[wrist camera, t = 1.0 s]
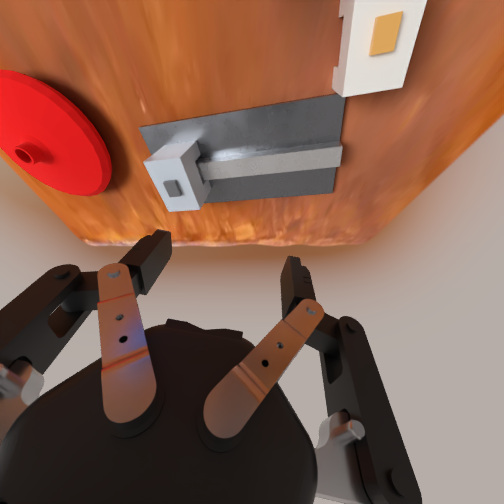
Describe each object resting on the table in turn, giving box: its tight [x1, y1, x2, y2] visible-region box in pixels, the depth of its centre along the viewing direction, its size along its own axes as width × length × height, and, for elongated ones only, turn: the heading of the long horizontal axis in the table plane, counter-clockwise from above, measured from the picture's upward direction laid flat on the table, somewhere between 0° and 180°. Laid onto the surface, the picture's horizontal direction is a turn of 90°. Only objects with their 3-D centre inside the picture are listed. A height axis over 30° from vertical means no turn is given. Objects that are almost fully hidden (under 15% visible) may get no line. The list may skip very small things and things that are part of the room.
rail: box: [139, 93, 345, 203], centre depth 28 cm, size 12×26×3 cm, turn 99°
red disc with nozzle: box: [0, 70, 112, 196], centre depth 27 cm, size 16×16×7 cm
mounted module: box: [143, 141, 211, 212], centre depth 28 cm, size 7×5×7 cm
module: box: [332, 0, 427, 97], centre depth 17 cm, size 7×5×7 cm
